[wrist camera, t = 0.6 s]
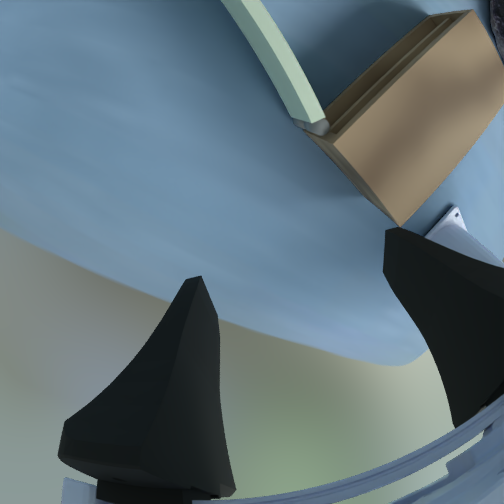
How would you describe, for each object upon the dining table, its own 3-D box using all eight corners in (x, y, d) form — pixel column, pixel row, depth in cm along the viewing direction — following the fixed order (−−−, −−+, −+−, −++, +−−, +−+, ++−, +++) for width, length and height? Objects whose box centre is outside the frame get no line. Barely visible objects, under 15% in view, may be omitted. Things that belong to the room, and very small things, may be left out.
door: (194, -53, 8) (189, -83, 5) (308, 123, 16) (332, 131, 12) (168, -42, 9) (157, -70, 5) (283, 135, 16) (301, 146, 13)
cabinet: (470, 81, 14) (513, 89, 10) (364, 196, 20) (400, 227, 15) (429, 15, 11) (473, 9, 7) (302, 130, 17) (332, 144, 12)
